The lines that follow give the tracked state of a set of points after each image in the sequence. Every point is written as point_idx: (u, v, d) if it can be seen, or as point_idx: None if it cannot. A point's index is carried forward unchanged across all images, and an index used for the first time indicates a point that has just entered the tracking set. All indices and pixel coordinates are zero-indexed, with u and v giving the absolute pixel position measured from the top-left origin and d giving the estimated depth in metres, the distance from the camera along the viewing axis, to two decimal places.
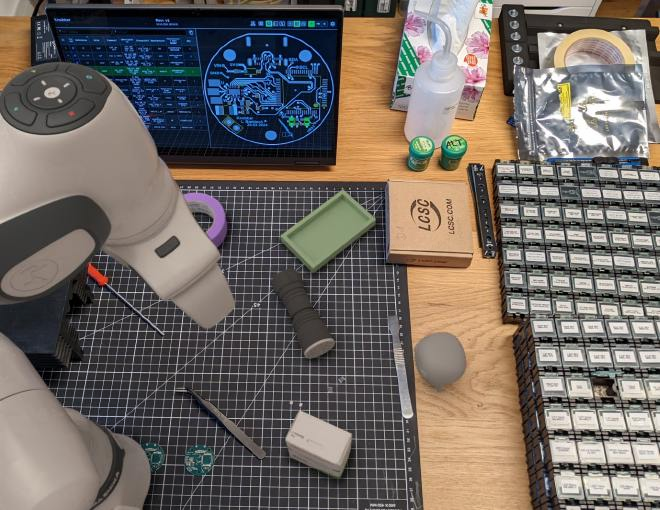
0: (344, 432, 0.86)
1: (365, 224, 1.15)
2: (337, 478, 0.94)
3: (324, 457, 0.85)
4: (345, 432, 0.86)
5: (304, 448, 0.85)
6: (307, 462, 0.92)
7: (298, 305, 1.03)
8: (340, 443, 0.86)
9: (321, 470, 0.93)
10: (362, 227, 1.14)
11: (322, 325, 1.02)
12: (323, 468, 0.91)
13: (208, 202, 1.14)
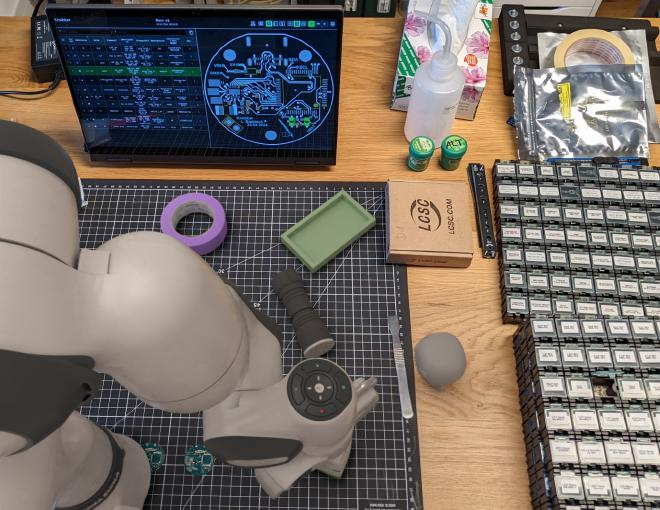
0: None
1: (365, 224, 1.15)
2: (337, 478, 0.94)
3: None
4: None
5: None
6: None
7: (298, 305, 1.03)
8: None
9: (321, 470, 0.93)
10: (362, 227, 1.14)
11: (322, 325, 1.02)
12: (323, 468, 0.91)
13: (208, 202, 1.14)
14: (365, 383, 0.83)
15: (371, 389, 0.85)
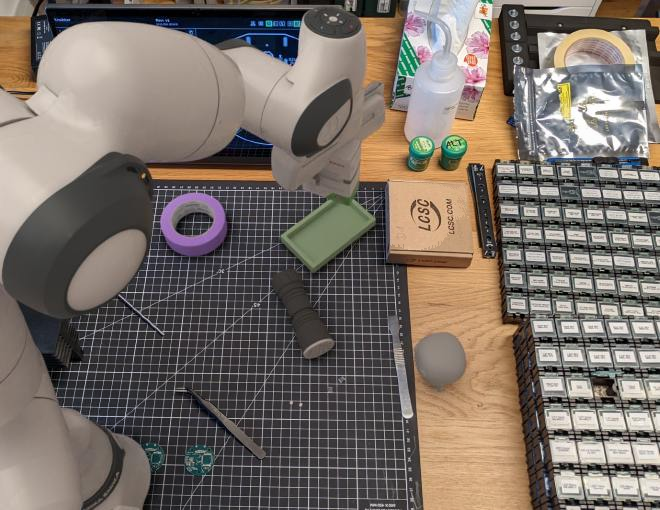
0: (354, 139, 0.93)
1: (365, 224, 1.15)
2: (347, 203, 1.00)
3: (336, 156, 0.92)
4: (355, 139, 0.93)
5: None
6: (319, 184, 0.99)
7: (297, 305, 1.03)
8: (351, 147, 0.93)
9: (332, 194, 1.00)
10: (362, 227, 1.14)
11: (321, 325, 1.02)
12: (334, 185, 0.97)
13: (208, 202, 1.14)
14: (373, 83, 0.90)
15: (378, 94, 0.92)
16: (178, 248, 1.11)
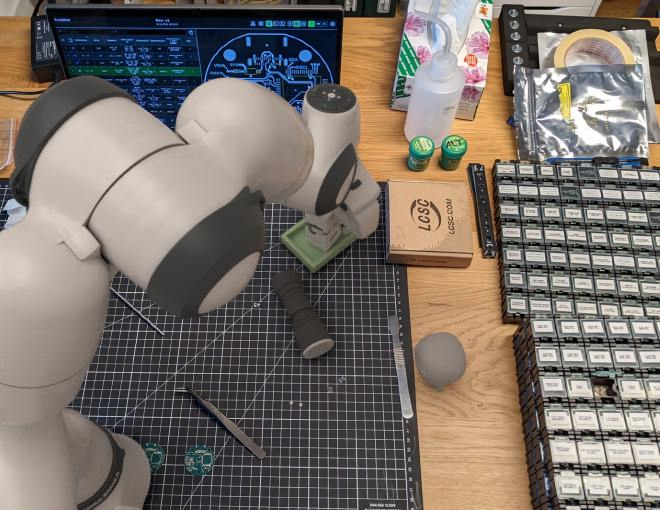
0: None
1: None
2: None
3: None
4: None
5: None
6: (337, 231, 1.11)
7: (297, 305, 1.03)
8: None
9: None
10: None
11: (321, 325, 1.02)
12: None
13: None
14: None
15: None
16: None
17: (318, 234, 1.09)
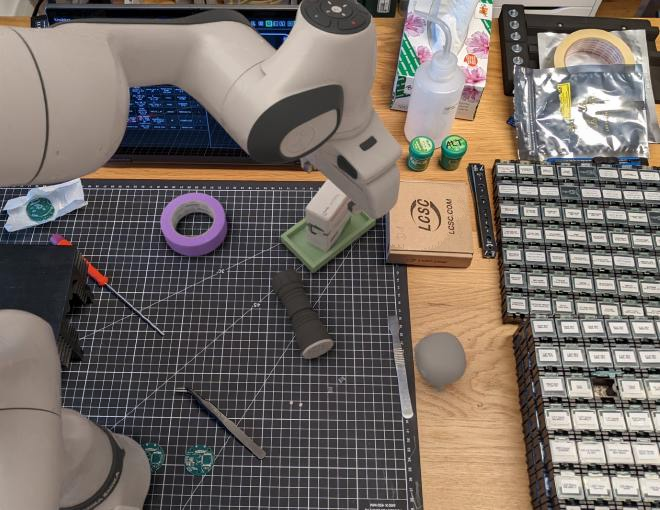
0: (328, 179, 1.07)
1: (365, 224, 1.15)
2: (350, 219, 1.16)
3: None
4: (328, 179, 1.07)
5: (337, 207, 1.04)
6: (338, 232, 1.11)
7: (297, 305, 1.03)
8: None
9: (344, 227, 1.14)
10: (362, 227, 1.14)
11: (321, 326, 1.02)
12: (345, 217, 1.11)
13: (208, 202, 1.14)
14: None
15: None
16: (178, 248, 1.11)
17: (318, 234, 1.09)
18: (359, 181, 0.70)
